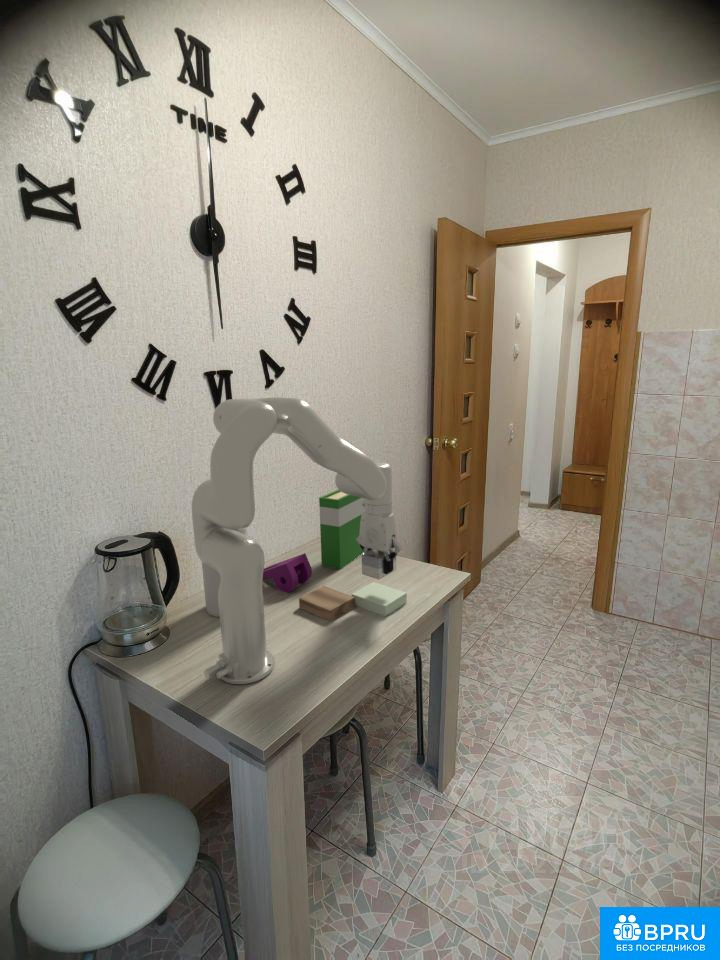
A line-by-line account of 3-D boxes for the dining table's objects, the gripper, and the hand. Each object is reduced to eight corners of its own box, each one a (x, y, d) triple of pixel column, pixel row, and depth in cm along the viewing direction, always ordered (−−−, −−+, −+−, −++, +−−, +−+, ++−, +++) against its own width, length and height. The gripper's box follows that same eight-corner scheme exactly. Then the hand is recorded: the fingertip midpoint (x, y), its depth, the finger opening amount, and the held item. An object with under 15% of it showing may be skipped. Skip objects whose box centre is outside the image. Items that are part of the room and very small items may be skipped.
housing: (379, 579, 133) (378, 555, 132) (362, 574, 137) (361, 550, 135) (396, 569, 139) (396, 546, 138) (379, 564, 143) (379, 542, 141)
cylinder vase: (236, 593, 148) (230, 514, 142) (260, 606, 139) (254, 522, 134) (198, 608, 139) (189, 524, 133) (221, 623, 131) (213, 534, 125)
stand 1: (330, 621, 131) (330, 610, 130) (299, 607, 138) (299, 598, 137) (354, 606, 138) (354, 597, 137) (324, 595, 146) (323, 585, 145)
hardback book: (347, 548, 182) (346, 486, 177) (365, 551, 179) (364, 488, 173) (321, 565, 167) (319, 497, 162) (340, 569, 164) (338, 500, 158)
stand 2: (385, 616, 133) (385, 606, 132) (351, 603, 140) (351, 593, 139) (406, 602, 140) (406, 592, 139) (373, 591, 148) (373, 581, 147)
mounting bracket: (257, 601, 155) (297, 589, 145) (247, 577, 155) (285, 563, 145) (277, 590, 163) (315, 578, 153) (267, 566, 163) (305, 553, 153)
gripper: (345, 506, 136) (347, 566, 140) (396, 517, 126) (396, 582, 130) (362, 500, 142) (363, 558, 146) (412, 510, 131) (412, 572, 135)
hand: (379, 569), depth 138 cm, fingers closed on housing, 6 cm apart
